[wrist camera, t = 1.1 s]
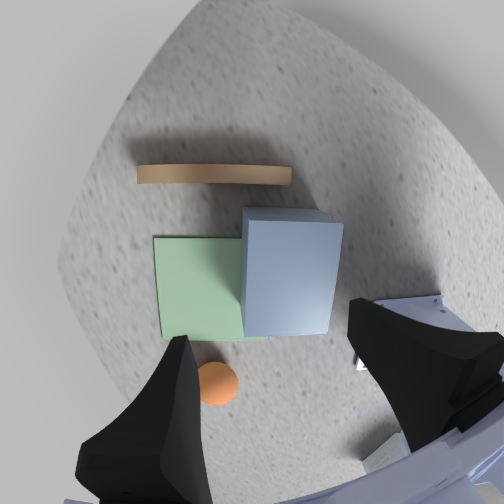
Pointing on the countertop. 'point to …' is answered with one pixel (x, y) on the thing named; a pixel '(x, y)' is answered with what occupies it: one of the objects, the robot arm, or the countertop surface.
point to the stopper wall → (214, 174)
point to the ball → (217, 383)
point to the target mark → (200, 288)
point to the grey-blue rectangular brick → (288, 270)
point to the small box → (385, 454)
